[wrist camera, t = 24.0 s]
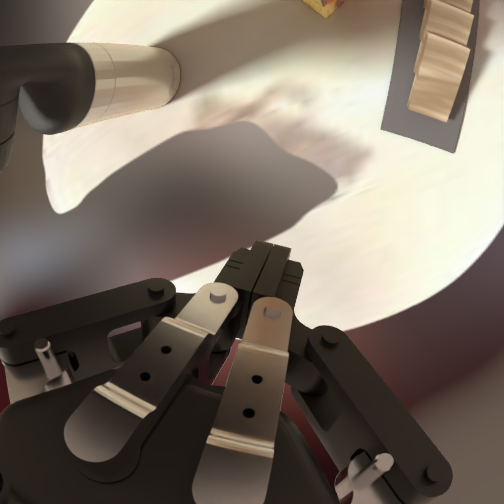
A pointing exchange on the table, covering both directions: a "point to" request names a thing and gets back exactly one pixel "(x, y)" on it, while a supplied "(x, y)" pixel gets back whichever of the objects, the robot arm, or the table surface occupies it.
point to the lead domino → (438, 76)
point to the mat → (403, 77)
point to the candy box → (324, 6)
